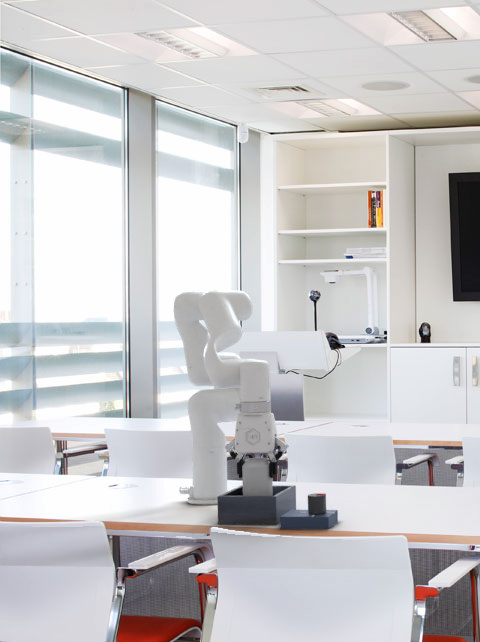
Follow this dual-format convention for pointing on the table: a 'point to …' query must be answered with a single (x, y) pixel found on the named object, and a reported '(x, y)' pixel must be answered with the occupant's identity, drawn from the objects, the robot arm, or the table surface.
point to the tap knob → (317, 503)
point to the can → (256, 477)
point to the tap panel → (308, 520)
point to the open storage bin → (255, 506)
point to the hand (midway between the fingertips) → (257, 476)
